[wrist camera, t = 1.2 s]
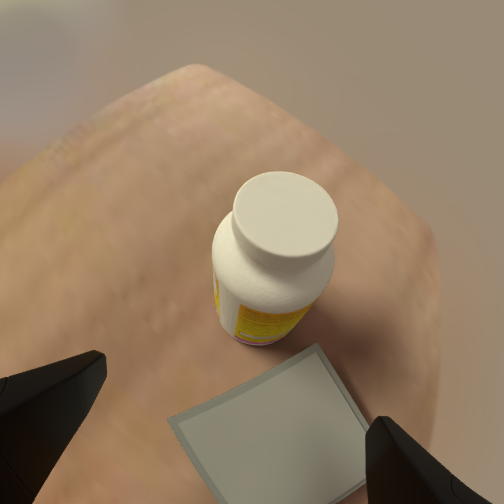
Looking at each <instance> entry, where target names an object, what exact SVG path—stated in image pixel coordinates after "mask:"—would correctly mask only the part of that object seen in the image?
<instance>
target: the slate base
mask: <svg viewBox="0 0 504 504" xmlns="http://www.w3.org/2000/svg"><path fill="white" fill-rule="evenodd" d="M167 420H168V422H169V424H170V426H171V428H172V430H173V431H174V433H175V435H176V437H177V439H178V440H179V442H180V444H181V446H182V447H183V449H184V451H185V452H186V454H187V456H188V457H189V459H190V461H191V462H192V464H193V465H194V467H195V468H196V470H197V472H198V473H199V475H200V476H201V478H202V479H203V481H204V482H205V484H206V485H207V487H208V488H209V490H210V491H211V492H212V494H213V495H214V497H215V498H216V500H217V501H218V502H219V504H336V503H338V502H339V501H341V500H342V499H344V498H345V497H347V496H348V495H350V494H351V493H352V492H354V491H355V490H357V489H358V488H359V487H361V486H362V485H364V484H365V483H366V474H365V435H366V432H367V430H368V429H369V425H368V423H367V422H366V420H365V418H364V417H363V415H362V414H361V412H360V410H359V409H358V407H357V405H356V404H355V402H354V400H353V399H352V397H351V396H350V394H349V392H348V391H347V389H346V387H345V386H344V384H343V383H342V381H341V379H340V378H339V376H338V374H337V373H336V371H335V370H334V368H333V366H332V365H331V363H330V362H329V360H328V358H327V357H326V355H325V353H324V352H323V350H322V349H321V347H320V345H319V344H318V342H316V343H314V344H313V345H311V346H310V347H308V348H306V349H305V350H303V351H301V352H300V353H298V354H296V355H294V356H293V357H291V358H289V359H288V360H286V361H284V362H282V363H281V364H279V365H277V366H275V367H273V368H272V369H270V370H268V371H266V372H264V373H262V374H261V375H259V376H257V377H255V378H253V379H251V380H249V381H247V382H245V383H243V384H241V385H239V386H238V387H236V388H234V389H232V390H229V391H227V392H225V393H223V394H221V395H219V396H217V397H215V398H213V399H211V400H209V401H206V402H204V403H202V404H200V405H198V406H195V407H193V408H191V409H189V410H186V411H184V412H182V413H179V414H177V415H175V416H172V417H170V418H167Z"/></svg>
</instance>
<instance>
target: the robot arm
mask: <svg viewBox="0 0 504 504" xmlns="http://www.w3.org/2000/svg"><path fill="white" fill-rule="evenodd" d="M106 377H107V365H106V356H105V354H103V353H101V352H99V351H96V350H92V351H89V352H86V353H83V354H80V355H76V356H73V357H70V358H67V359H64V360H61V361H58V362H55V363H51V364H48V365H45V366H42V367H39V368H35V369H32V370H29V371H25V372H22V373H18V374H15V375H12V376H9V377H4V378H1V379H0V504H32V503H33V502H34V500H35V498H36V496H37V494H38V493H39V491H40V489H41V488H42V486H43V484H44V483H45V481H46V479H47V478H48V476H49V474H50V473H51V471H52V469H53V468H54V466H55V464H56V463H57V461H58V460H59V458H60V456H61V455H62V453H63V452H64V450H65V449H66V447H67V445H68V444H69V442H70V441H71V439H72V438H73V436H74V434H75V433H76V431H77V430H78V428H79V427H80V425H81V424H82V422H83V421H84V419H85V418H86V416H87V414H88V413H89V411H90V409H91V407H92V405H93V403H94V401H95V399H96V397H97V395H98V393H99V391H100V389H101V387H102V385H103V383H104V381H105V379H106ZM365 474H366V484H367V494H368V504H492V503H490V502H489V501H487V500H486V499H484V498H483V497H481V496H480V495H479V494H477V493H476V492H474V491H473V490H471V489H470V488H469V487H467V486H466V485H465V484H464V483H463V482H461V481H460V480H459V479H458V478H457V477H455V476H454V475H453V474H451V472H450V471H449V470H447V469H446V468H445V467H444V466H443V465H441V463H440V462H438V461H437V460H436V459H435V458H434V457H433V456H432V455H431V454H430V453H428V452H427V451H426V450H425V449H424V448H423V447H422V446H421V445H420V444H418V443H417V442H416V441H415V440H414V439H413V438H412V437H411V436H410V435H409V434H407V433H406V432H405V431H404V430H403V429H402V428H401V427H400V426H399V425H398V424H397V423H395V422H394V421H393V420H392V419H391V418H390V417H388V416H378V417H376V418H375V420H374V421H373V423H372V424H371V426H370V427H369V429H368V430H367V432H366V435H365Z"/></svg>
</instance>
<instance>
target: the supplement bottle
mask: <svg viewBox="0 0 504 504" xmlns="http://www.w3.org/2000/svg"><path fill="white" fill-rule="evenodd" d="M338 224H339V218H338V212H337V209H336V206H335V204H334V202H333V200H332V199H331V197H330V196H329V195H328V193H327V192H326V191H325V190H324V189H323V188H322V187H321V186H319V185H318V184H317V183H315V182H314V181H312V180H310V179H308V178H306V177H303V176H301V175H298V174H295V173H290V172H268V173H263V174H260V175H258V176H255V177H253V178H252V179H250V180H249V181H247V182H246V183H245V184H244V185H243V186H242V187H241V188H240V189H239V191H238V193H237V195H236V197H235V200H234V205H233V211H231V212H230V213H229V214H228V215H227V216H226V217H225V218H224V219H223V221H222V222H221V224H220V225H219V227H218V229H217V231H216V233H215V236H214V240H213V245H212V264H213V277H214V292H215V306H216V312H217V316H218V319H219V321H220V323H221V325H222V327H223V328H224V329H225V330H226V332H227V333H228V334H229V335H231V336H232V337H233V338H235V339H236V340H238V341H240V342H243V343H245V344H249V345H267V344H271V343H274V342H276V341H278V340H280V339H282V338H283V337H284V336H286V335H287V334H288V333H289V332H290V331H291V330H292V329H293V328H294V326H295V325H296V324H297V323H298V322H299V321H300V319H301V318H302V317H303V316H304V315H305V313H306V312H307V311H308V310H309V308H310V307H311V306H312V305H313V304H314V302H315V301H316V300H317V299H318V297H319V296H320V295H321V294H322V292H323V291H324V289H325V288H326V287H327V285H328V283H329V281H330V279H331V276H332V273H333V269H334V263H335V253H334V247H333V243H332V242H333V240H334V238H335V236H336V233H337V230H338Z"/></svg>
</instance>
